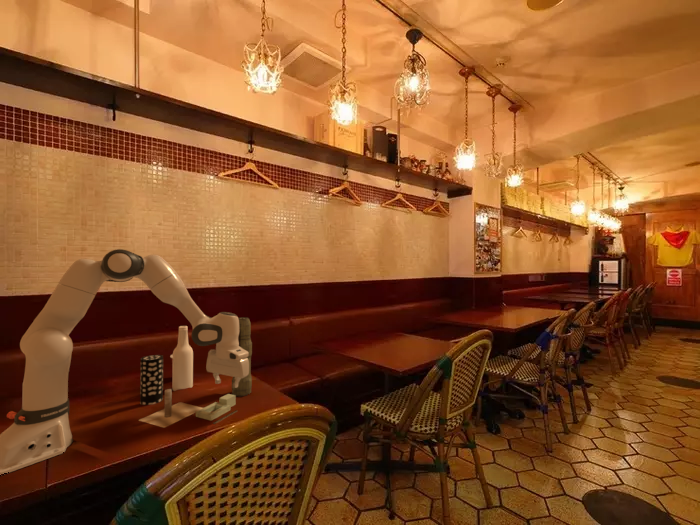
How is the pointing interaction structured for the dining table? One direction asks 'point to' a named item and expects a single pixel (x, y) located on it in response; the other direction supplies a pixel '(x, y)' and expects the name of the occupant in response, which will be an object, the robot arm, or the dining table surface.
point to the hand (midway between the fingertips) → (226, 385)
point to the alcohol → (182, 362)
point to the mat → (225, 417)
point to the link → (217, 407)
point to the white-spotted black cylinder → (151, 380)
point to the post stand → (170, 412)
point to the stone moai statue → (246, 344)
